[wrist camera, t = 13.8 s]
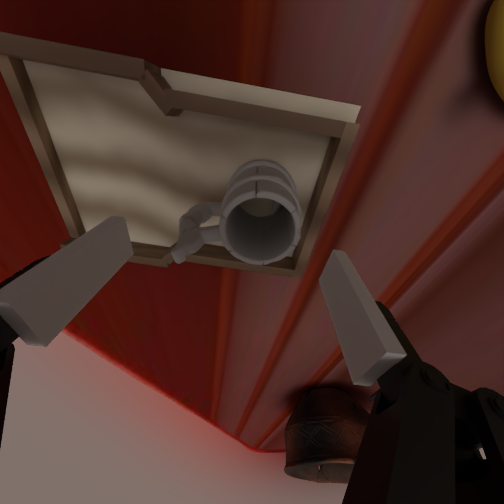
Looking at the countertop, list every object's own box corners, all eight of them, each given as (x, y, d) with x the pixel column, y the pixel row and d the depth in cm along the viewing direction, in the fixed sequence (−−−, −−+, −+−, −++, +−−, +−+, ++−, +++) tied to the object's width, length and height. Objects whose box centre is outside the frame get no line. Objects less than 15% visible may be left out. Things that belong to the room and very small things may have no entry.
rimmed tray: (13, 41, 18) (-46, 23, 14) (356, 106, 19) (376, 103, 16) (86, 237, 29) (63, 252, 26) (297, 269, 30) (302, 287, 27)
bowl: (293, 416, 64) (300, 487, 52) (268, 382, 52) (269, 466, 39) (375, 409, 58) (406, 488, 45) (368, 369, 46) (408, 463, 33)
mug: (296, 218, 24) (318, 284, 15) (206, 231, 26) (171, 298, 16) (292, 151, 20) (319, 179, 10) (186, 171, 22) (122, 212, 12)
